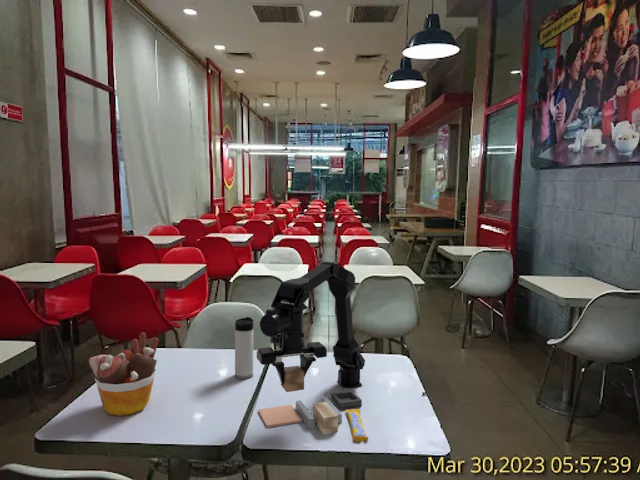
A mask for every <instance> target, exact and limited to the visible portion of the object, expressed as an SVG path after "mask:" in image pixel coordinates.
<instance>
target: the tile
mask: <svg viewBox="0 0 640 480" xmlns="http://www.w3.org/2000/svg"><path fill="white" fill-rule="evenodd" d="M257 411H258V413H259V415H260V417H261V419H262V421H263V423H264V425H265V427H266V428H272V427H280V426H284V425H286V426H287V425H290V424H291V425H292V424H297V423H302V422H303V419H302V417H301V416H300V414H299V413H298V411H297V410H296V408H295V407H294V406H293V405H292V404H286V405H279V406H278V405H277V406H273V407H265V408H259V409H257Z"/></svg>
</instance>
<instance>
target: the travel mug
mask: <svg viewBox="0 0 640 480" xmlns="http://www.w3.org/2000/svg"><path fill="white" fill-rule="evenodd" d="M234 325H235V327H234V376H235V378H237V379H239V380H247V379H251V378H252V377H253V376H254V320H253V318H252V317H251V316H250V317H249V316H246V317H242V318H238V319H236V320H235V324H234Z"/></svg>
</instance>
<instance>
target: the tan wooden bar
mask: <svg viewBox="0 0 640 480" xmlns="http://www.w3.org/2000/svg"><path fill="white" fill-rule="evenodd" d="M312 416H313V417H314V418H315V425H316V426H317V427H318V428H319V429H320V431H321V432H322V434H323V435H324V434H325V435H326V434H330V433H337V432H338V429H339V423H338V415H337V414H336V413H335V412H334V411H333V409H332V408H331V407H330V406H329V405H328V404H327V402H321V401H320V402H315V403H312Z"/></svg>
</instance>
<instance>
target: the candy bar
mask: <svg viewBox="0 0 640 480" xmlns="http://www.w3.org/2000/svg"><path fill="white" fill-rule="evenodd" d="M345 413H346V415H347V419H348V423H349V427H350V429H351V433H352V434H351V435H352V438H353V439H352V440H353V442H355V443H357V442H358V443H359V442H367V441H368V440H369V437H368V436H367V435H366V432H365V429H364V425H363V421H362V417H361V414H360V413H361V410H360V409H359V408H347V409H345Z"/></svg>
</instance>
